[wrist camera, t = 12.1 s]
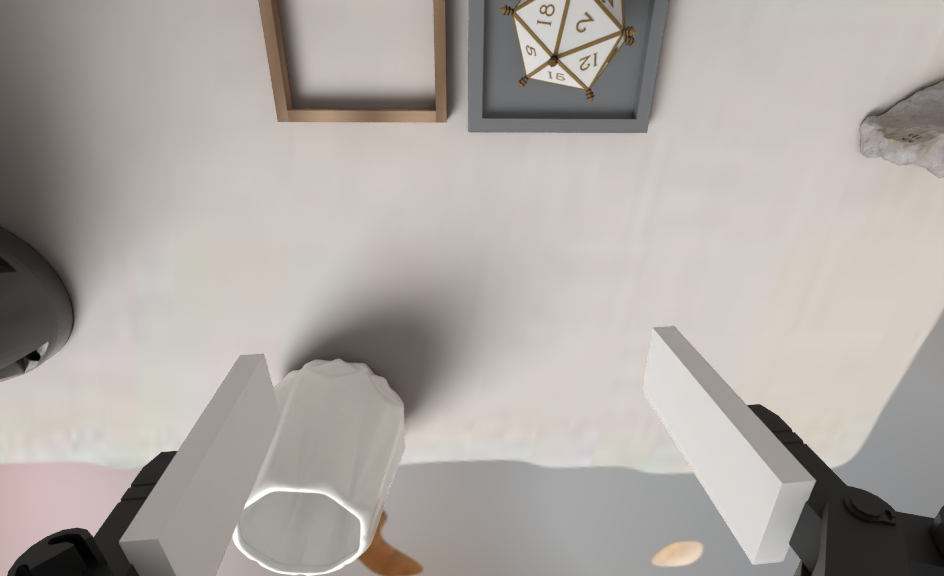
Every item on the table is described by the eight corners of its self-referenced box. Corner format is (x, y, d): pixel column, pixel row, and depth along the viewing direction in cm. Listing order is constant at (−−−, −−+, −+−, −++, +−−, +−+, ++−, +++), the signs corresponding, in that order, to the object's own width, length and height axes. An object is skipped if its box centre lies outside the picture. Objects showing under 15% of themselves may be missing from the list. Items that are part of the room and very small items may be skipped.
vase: (414, 350, 46) (401, 471, 32) (404, 456, 52) (390, 596, 38) (267, 338, 45) (188, 459, 31) (274, 449, 51) (211, 591, 37)
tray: (468, 129, 37) (468, 132, 36) (469, -90, 31) (470, -97, 30) (639, 130, 38) (647, 132, 37) (673, -84, 32) (683, -91, 31)
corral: (284, 119, 36) (278, 121, 35) (252, -83, 31) (243, -90, 29) (446, 120, 37) (446, 122, 36) (444, -78, 31) (444, -84, 30)
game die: (531, 11, 37) (524, -117, 27) (640, 30, 35) (676, -100, 25) (496, 114, 36) (476, 20, 26) (607, 139, 34) (630, 48, 24)
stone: (848, 194, 42) (907, 213, 36) (854, 100, 38) (919, 106, 33) (963, 160, 41) (1040, 174, 35) (979, 62, 37) (1067, 61, 32)
